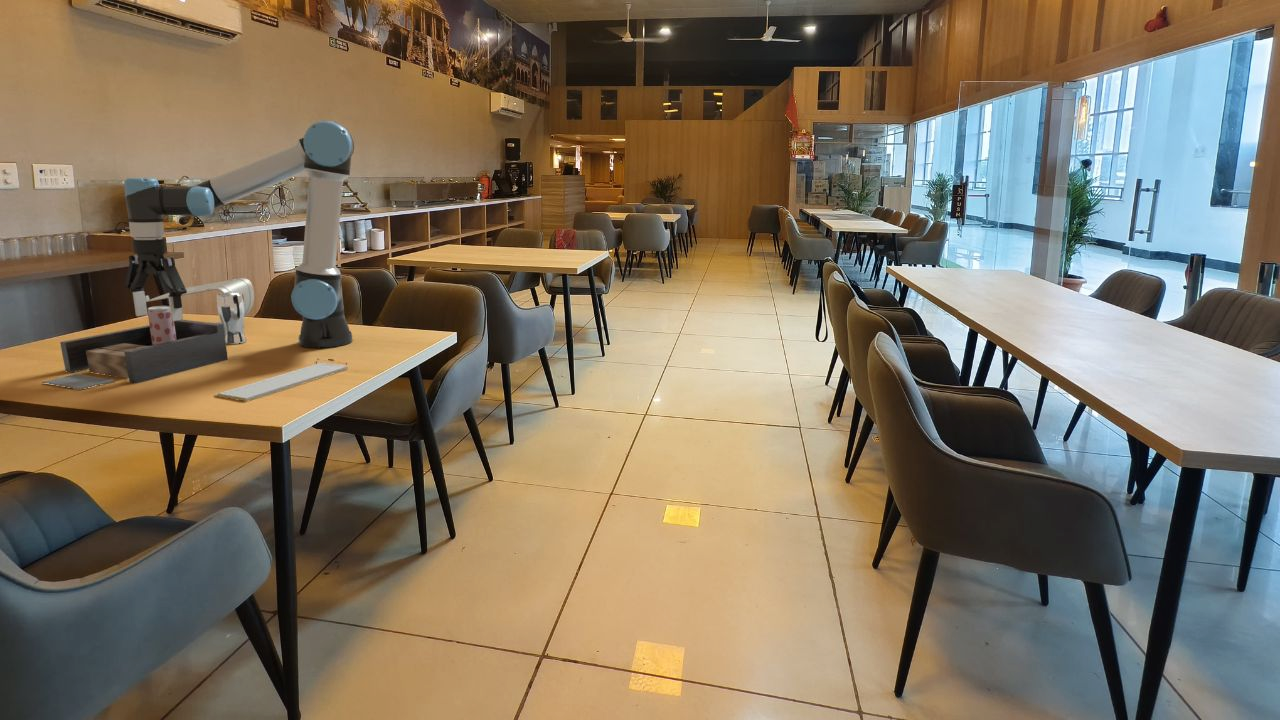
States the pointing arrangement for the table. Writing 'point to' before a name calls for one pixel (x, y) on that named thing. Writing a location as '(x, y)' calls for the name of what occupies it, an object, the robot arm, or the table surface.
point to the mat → (78, 381)
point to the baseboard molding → (282, 381)
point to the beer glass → (232, 316)
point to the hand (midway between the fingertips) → (159, 317)
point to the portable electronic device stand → (225, 286)
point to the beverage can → (161, 325)
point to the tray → (154, 349)
